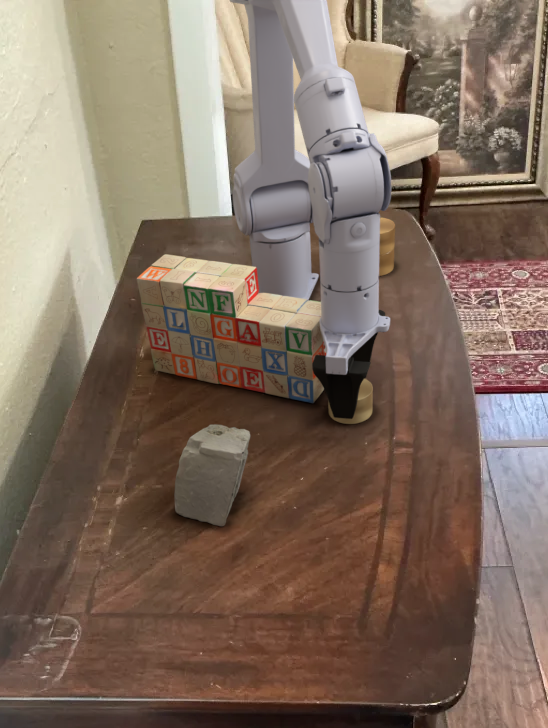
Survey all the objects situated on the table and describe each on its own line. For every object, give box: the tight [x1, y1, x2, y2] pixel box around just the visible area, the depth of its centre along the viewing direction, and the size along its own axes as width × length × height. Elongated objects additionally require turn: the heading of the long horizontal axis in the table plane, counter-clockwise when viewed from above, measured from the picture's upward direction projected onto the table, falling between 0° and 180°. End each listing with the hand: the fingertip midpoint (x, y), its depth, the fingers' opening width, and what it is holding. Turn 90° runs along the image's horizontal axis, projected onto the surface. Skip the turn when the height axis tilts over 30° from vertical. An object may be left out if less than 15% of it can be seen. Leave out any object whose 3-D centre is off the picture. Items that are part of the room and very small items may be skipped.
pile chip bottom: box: [379, 248, 395, 277], centre depth 118 cm, size 5×5×3 cm
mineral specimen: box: [173, 424, 251, 527], centre depth 83 cm, size 7×9×8 cm
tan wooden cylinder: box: [327, 378, 374, 425], centre depth 94 cm, size 5×5×3 cm
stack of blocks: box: [136, 253, 327, 404], centre depth 98 cm, size 21×6×12 cm, turn 62°
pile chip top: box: [379, 217, 396, 255], centre depth 116 cm, size 5×5×3 cm
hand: (350, 396), depth 93 cm, fingers open, 7 cm apart
